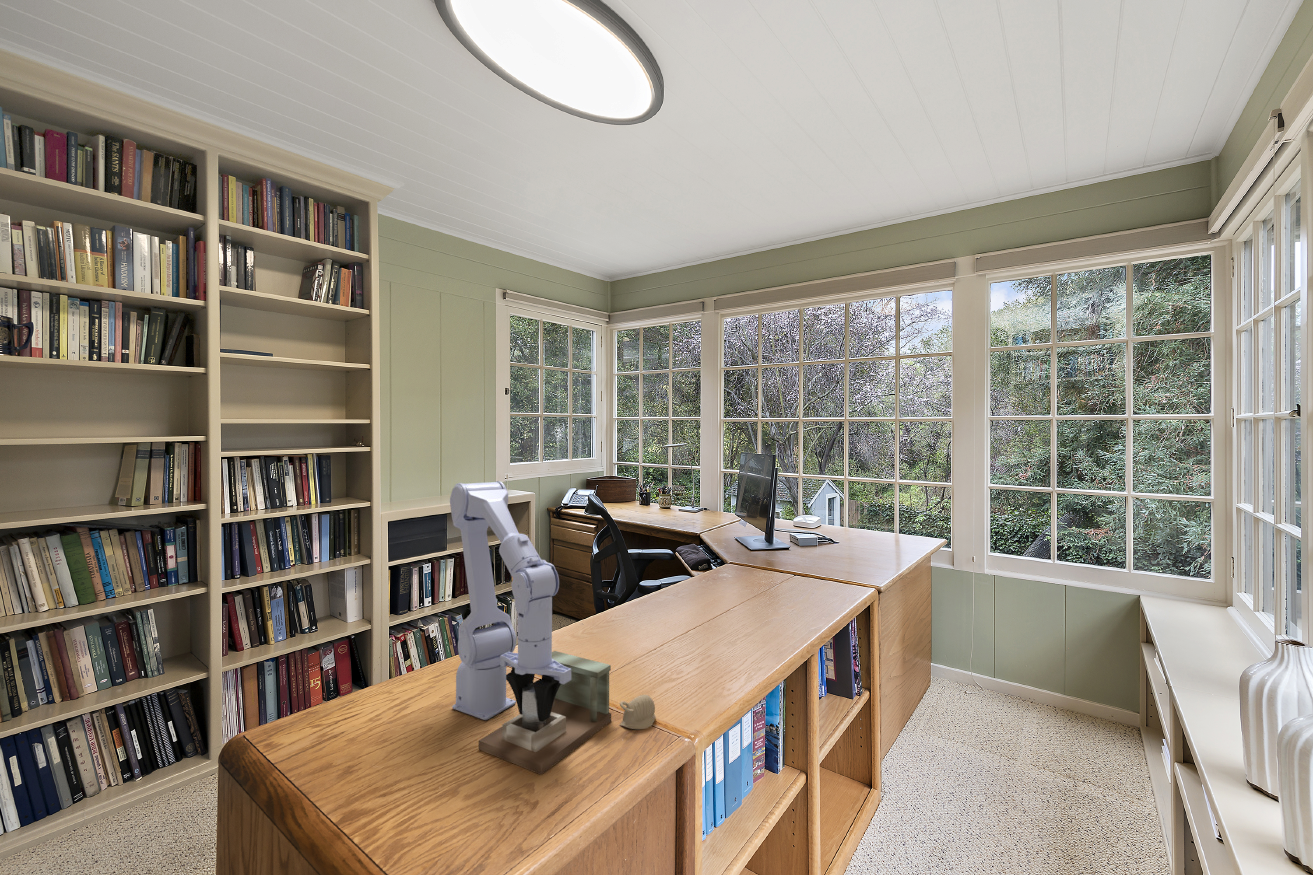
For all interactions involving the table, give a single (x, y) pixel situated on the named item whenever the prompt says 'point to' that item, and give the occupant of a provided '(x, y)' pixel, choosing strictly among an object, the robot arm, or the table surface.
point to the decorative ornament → (638, 712)
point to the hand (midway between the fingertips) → (534, 715)
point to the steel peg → (530, 709)
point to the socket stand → (558, 719)
